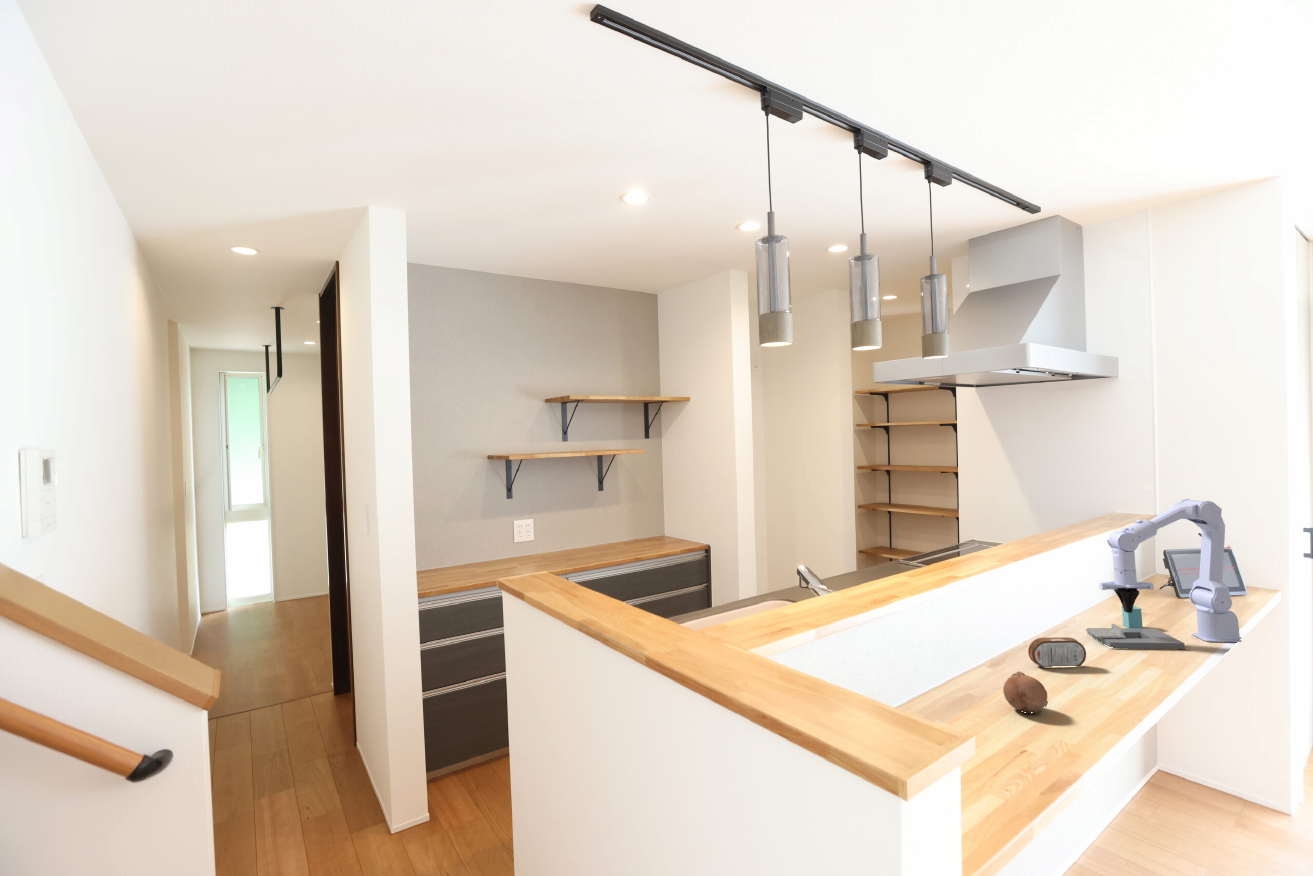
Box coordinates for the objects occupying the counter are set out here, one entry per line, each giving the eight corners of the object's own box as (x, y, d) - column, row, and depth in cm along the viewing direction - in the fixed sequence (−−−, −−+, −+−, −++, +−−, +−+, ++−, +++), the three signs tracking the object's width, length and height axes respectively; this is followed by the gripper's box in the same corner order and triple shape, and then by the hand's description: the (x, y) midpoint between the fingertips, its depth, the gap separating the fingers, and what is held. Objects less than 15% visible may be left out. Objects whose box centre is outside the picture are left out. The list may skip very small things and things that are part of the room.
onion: (1016, 717, 159) (1005, 675, 163) (1057, 714, 153) (1045, 671, 158) (1003, 715, 153) (992, 671, 157) (1046, 712, 147) (1033, 667, 152)
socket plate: (1155, 634, 207) (1155, 628, 207) (1184, 649, 191) (1184, 643, 192) (1087, 634, 211) (1087, 628, 212) (1110, 648, 196) (1110, 642, 196)
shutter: (1113, 630, 206) (1112, 623, 206) (1125, 637, 199) (1124, 629, 199) (1085, 630, 208) (1085, 623, 208) (1096, 637, 200) (1096, 629, 200)
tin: (1082, 665, 184) (1080, 636, 184) (1089, 668, 181) (1087, 639, 181) (1028, 666, 185) (1026, 637, 186) (1033, 669, 182) (1031, 640, 182)
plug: (1136, 626, 217) (1135, 606, 217) (1142, 629, 213) (1141, 608, 213) (1123, 626, 218) (1121, 606, 218) (1129, 629, 214) (1127, 608, 214)
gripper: (1105, 572, 200) (1108, 615, 200) (1157, 571, 197) (1161, 615, 197) (1095, 568, 207) (1098, 609, 207) (1145, 567, 204) (1148, 609, 204)
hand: (1128, 612), depth 202 cm, fingers closed
